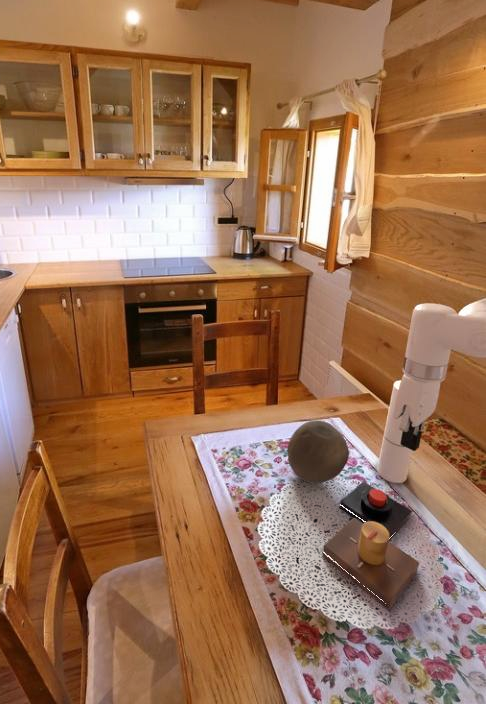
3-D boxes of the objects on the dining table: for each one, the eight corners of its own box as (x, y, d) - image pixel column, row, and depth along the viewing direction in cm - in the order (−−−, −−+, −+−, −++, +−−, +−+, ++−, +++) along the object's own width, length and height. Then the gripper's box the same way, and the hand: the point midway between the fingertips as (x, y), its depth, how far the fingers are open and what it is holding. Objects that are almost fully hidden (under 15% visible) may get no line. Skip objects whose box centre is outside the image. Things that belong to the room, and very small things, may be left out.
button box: (410, 518, 91) (413, 504, 90) (388, 542, 85) (391, 528, 83) (362, 488, 99) (364, 475, 98) (338, 508, 93) (341, 494, 92)
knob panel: (416, 573, 78) (419, 561, 77) (388, 610, 71) (391, 598, 70) (352, 527, 88) (354, 516, 87) (322, 556, 81) (323, 544, 80)
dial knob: (365, 538, 82) (370, 515, 80) (389, 554, 78) (394, 531, 76) (352, 552, 79) (356, 529, 77) (376, 570, 75) (381, 546, 73)
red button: (388, 501, 91) (389, 495, 90) (380, 509, 88) (381, 503, 88) (373, 492, 93) (374, 486, 93) (365, 500, 91) (366, 493, 90)
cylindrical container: (408, 470, 106) (428, 385, 98) (404, 487, 100) (424, 398, 92) (380, 460, 109) (396, 377, 101) (374, 475, 104) (391, 389, 95)
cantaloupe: (296, 500, 95) (302, 447, 90) (278, 460, 108) (283, 412, 103) (352, 495, 97) (362, 442, 92) (328, 456, 110) (335, 408, 105)
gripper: (421, 351, 86) (408, 425, 92) (387, 371, 77) (374, 452, 83) (459, 362, 81) (442, 440, 87) (428, 386, 72) (411, 471, 78)
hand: (409, 446), depth 85 cm, fingers closed
